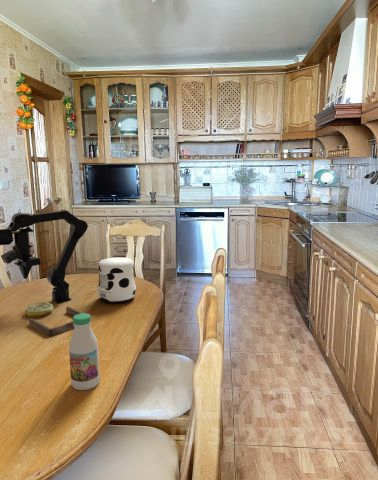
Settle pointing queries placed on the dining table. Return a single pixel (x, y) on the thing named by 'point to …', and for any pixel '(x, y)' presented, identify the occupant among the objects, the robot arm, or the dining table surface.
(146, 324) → the dining table surface
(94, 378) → the milk bottle
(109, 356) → the dining table surface
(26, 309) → the decorated donut
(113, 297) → the milk container
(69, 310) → the u-shaped brown rail
